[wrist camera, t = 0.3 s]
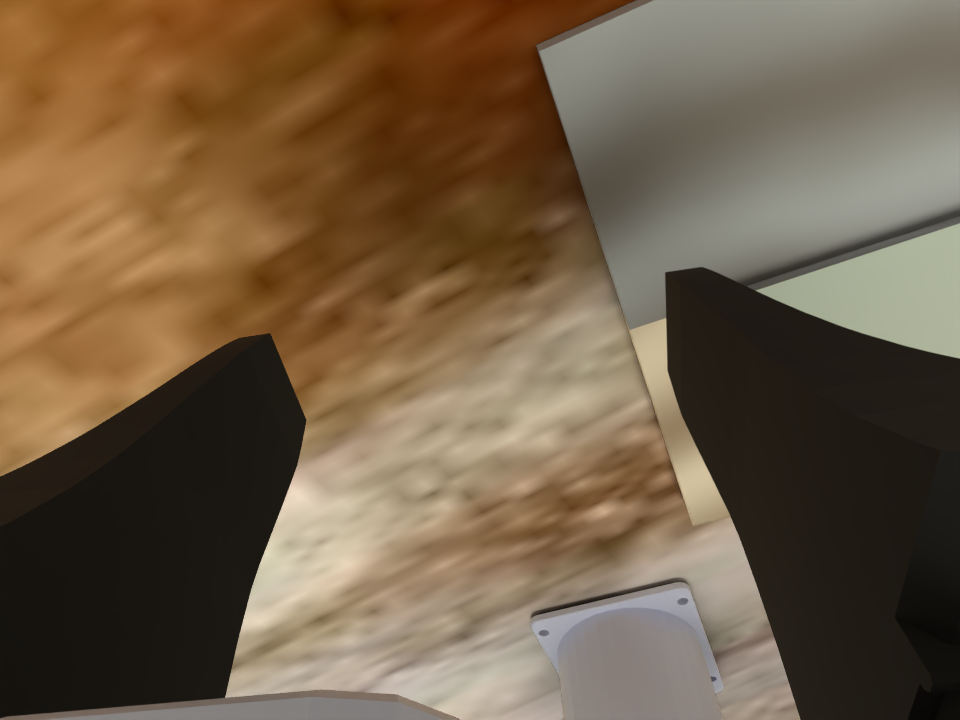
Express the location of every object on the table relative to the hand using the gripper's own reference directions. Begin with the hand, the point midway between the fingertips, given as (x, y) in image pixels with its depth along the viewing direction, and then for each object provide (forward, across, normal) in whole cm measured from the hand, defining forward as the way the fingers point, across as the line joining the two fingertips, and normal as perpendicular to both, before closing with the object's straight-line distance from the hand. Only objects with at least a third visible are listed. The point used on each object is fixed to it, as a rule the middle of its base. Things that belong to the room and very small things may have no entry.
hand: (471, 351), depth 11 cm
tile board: (+10, -11, +4) cm, 15 cm away
